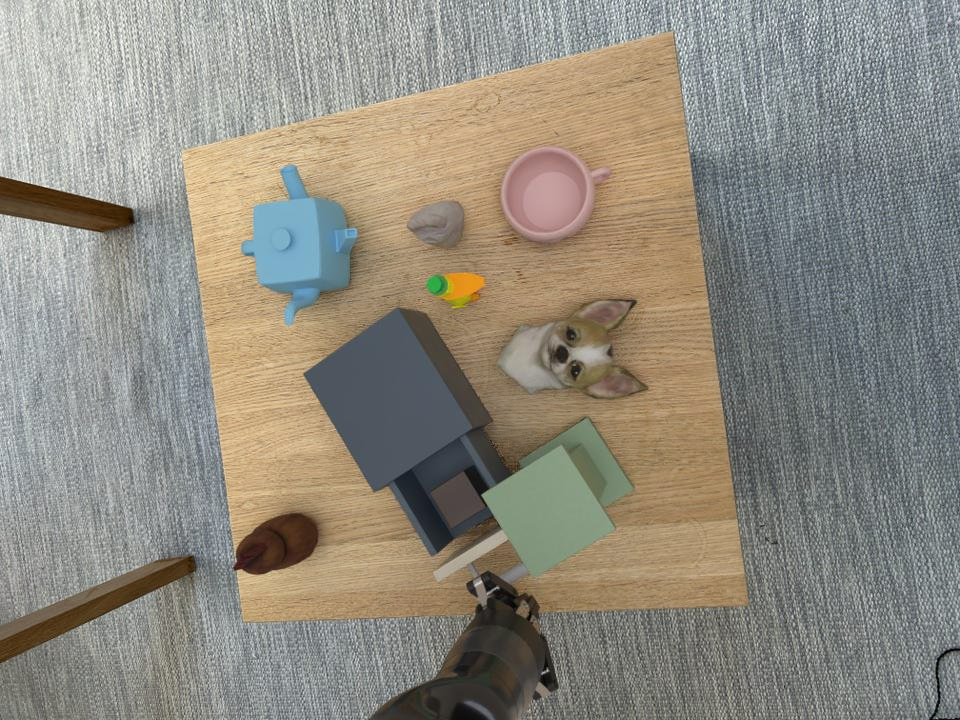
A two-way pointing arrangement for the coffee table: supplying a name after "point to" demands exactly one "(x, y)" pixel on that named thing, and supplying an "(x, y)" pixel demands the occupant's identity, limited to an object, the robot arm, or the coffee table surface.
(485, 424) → the cabinet
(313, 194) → the coffee table surface
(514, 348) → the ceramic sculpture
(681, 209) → the coffee table surface
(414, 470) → the drawer
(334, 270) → the teapot
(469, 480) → the block
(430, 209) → the fossil
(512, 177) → the mug
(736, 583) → the coffee table surface
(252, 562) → the wooden figurine
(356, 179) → the coffee table surface
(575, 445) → the stand
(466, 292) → the toy figure
